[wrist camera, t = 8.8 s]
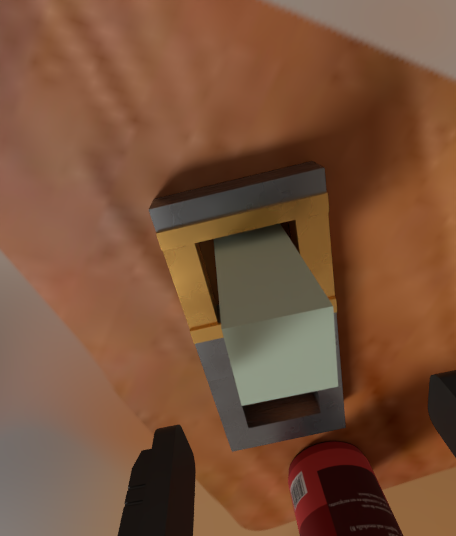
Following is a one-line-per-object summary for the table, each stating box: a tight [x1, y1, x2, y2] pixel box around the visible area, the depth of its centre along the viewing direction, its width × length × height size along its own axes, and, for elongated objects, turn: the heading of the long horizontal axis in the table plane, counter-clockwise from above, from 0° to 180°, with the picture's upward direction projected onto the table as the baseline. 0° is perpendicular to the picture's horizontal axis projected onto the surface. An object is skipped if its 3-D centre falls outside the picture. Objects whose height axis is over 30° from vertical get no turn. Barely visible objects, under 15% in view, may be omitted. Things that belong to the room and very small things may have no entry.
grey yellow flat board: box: [149, 161, 346, 451], centre depth 22 cm, size 9×20×2 cm, turn 12°
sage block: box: [214, 223, 338, 406], centre depth 16 cm, size 4×4×9 cm
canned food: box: [288, 441, 403, 536], centre depth 26 cm, size 8×8×11 cm
